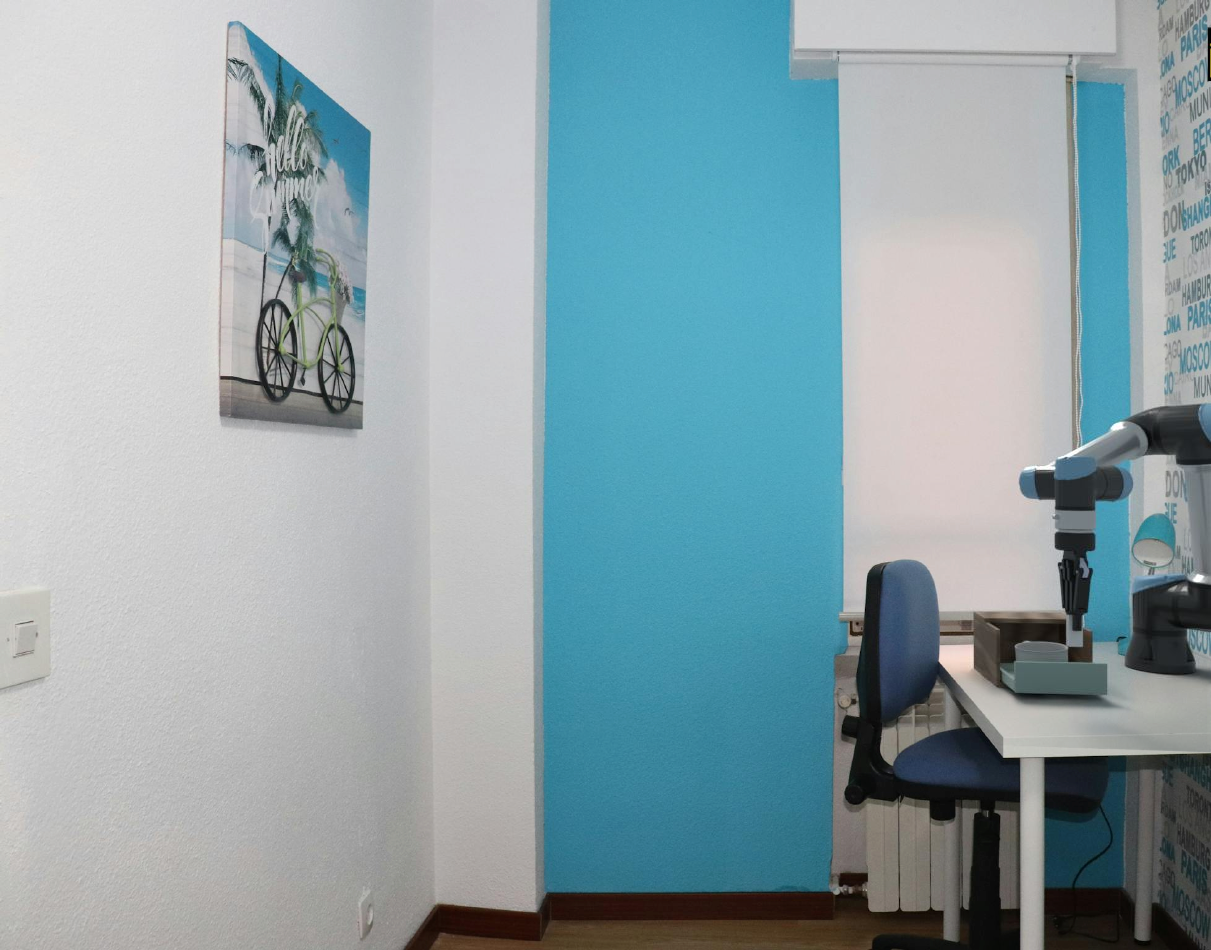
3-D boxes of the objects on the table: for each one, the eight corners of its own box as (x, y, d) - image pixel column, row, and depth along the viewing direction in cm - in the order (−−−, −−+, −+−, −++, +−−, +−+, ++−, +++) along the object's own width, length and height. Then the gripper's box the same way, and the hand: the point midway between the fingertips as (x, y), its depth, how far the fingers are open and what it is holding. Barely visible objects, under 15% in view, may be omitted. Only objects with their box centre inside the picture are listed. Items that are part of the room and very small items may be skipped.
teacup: (1074, 687, 201) (1074, 650, 201) (1021, 685, 203) (1021, 649, 203) (1056, 673, 215) (1055, 638, 215) (1006, 671, 217) (1006, 637, 217)
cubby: (1061, 669, 228) (1061, 612, 228) (1092, 689, 208) (1092, 626, 208) (973, 667, 231) (973, 611, 231) (996, 686, 211) (996, 625, 211)
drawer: (1073, 674, 217) (1073, 646, 217) (1107, 695, 198) (1107, 664, 198) (990, 672, 220) (990, 644, 220) (1015, 692, 200) (1015, 662, 200)
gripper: (1044, 529, 197) (1044, 639, 197) (1066, 533, 184) (1066, 651, 185) (1082, 529, 196) (1082, 640, 196) (1107, 533, 183) (1106, 652, 184)
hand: (1074, 646), depth 191 cm, fingers closed
